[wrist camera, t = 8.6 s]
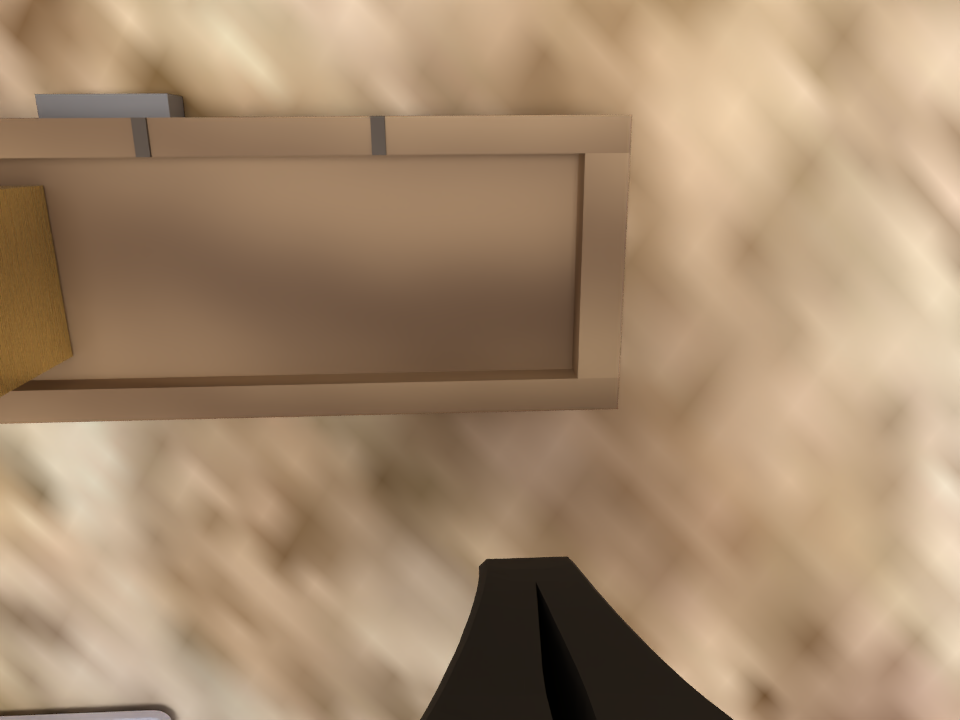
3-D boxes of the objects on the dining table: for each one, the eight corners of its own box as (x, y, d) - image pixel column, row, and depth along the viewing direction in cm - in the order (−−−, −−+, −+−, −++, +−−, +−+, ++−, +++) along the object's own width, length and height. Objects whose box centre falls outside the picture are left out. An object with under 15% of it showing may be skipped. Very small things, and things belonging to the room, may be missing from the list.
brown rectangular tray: (593, 394, 20) (617, 433, 18) (-291, 414, 19) (-413, 459, 17) (605, 94, 18) (634, 84, 15) (-396, 99, 17) (-559, 90, 14)
